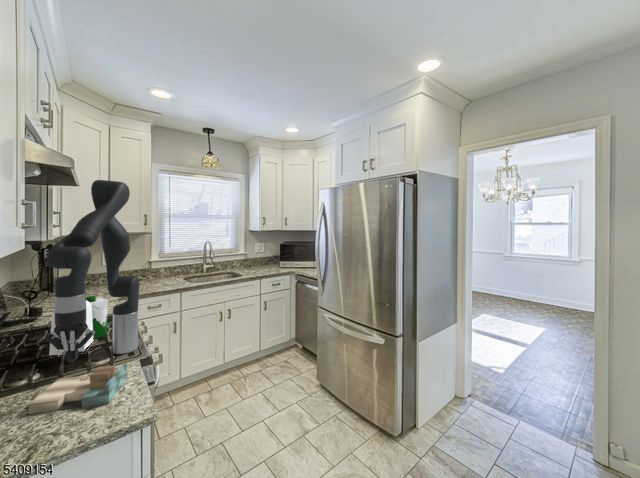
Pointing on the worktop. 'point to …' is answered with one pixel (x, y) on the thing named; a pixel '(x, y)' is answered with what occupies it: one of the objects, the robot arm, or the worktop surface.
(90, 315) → the milk
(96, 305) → the milk carton
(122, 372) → the pixelated toy pickaxe
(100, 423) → the worktop surface
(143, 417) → the worktop surface
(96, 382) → the block
